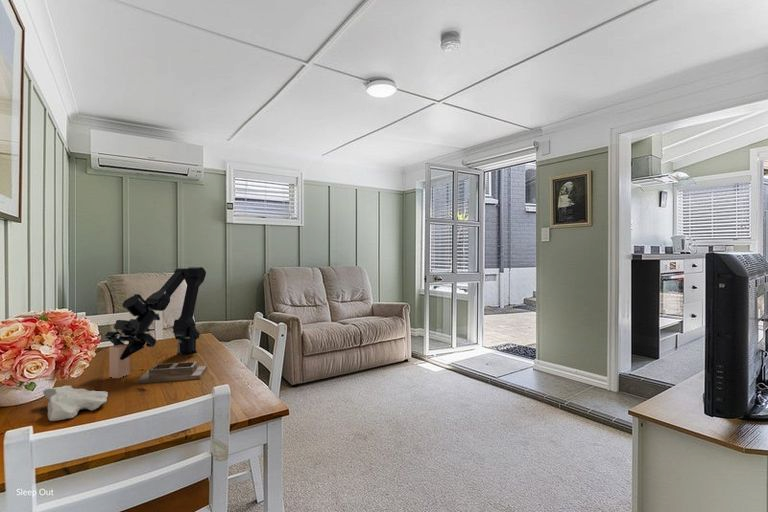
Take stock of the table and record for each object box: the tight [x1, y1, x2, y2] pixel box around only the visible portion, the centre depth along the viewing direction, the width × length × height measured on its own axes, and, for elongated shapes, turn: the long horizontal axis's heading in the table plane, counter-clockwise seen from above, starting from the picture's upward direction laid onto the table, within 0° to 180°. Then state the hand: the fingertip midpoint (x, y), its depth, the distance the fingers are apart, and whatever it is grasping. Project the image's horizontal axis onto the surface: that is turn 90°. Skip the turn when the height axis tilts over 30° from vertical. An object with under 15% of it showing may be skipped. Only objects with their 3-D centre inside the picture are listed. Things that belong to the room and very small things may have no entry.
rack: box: [136, 360, 208, 384], centre depth 137 cm, size 12×20×4 cm, turn 105°
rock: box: [42, 385, 109, 422], centre depth 109 cm, size 21×5×15 cm
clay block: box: [108, 344, 131, 379], centre depth 137 cm, size 4×4×11 cm
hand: (116, 359), depth 135 cm, fingers closed on clay block, 4 cm apart
